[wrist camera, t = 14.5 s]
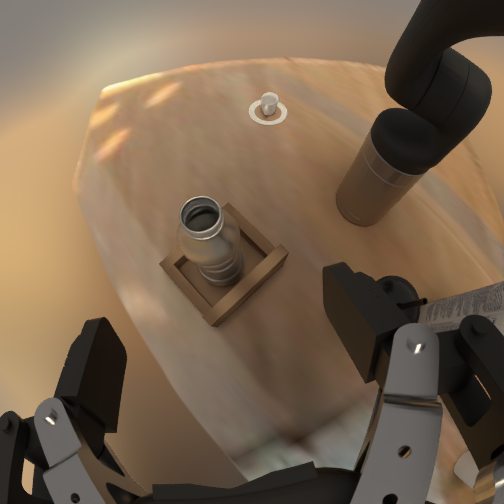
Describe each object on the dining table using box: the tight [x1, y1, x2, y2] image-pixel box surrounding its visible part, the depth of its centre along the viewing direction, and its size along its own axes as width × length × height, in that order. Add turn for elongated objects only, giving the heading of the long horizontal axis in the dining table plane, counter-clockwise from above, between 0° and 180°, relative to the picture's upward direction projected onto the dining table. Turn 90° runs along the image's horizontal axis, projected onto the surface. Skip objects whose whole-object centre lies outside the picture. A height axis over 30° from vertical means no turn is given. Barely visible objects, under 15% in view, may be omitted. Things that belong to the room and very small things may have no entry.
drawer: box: [159, 202, 289, 327], centre depth 40 cm, size 14×12×7 cm
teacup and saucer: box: [249, 92, 287, 125], centre depth 51 cm, size 9×8×4 cm
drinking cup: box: [376, 276, 427, 323], centre depth 32 cm, size 8×8×20 cm
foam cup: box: [454, 451, 479, 489], centre depth 25 cm, size 10×9×13 cm
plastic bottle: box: [177, 196, 244, 286], centre depth 33 cm, size 6×7×20 cm
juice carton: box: [418, 281, 504, 336], centre depth 27 cm, size 9×10×27 cm
